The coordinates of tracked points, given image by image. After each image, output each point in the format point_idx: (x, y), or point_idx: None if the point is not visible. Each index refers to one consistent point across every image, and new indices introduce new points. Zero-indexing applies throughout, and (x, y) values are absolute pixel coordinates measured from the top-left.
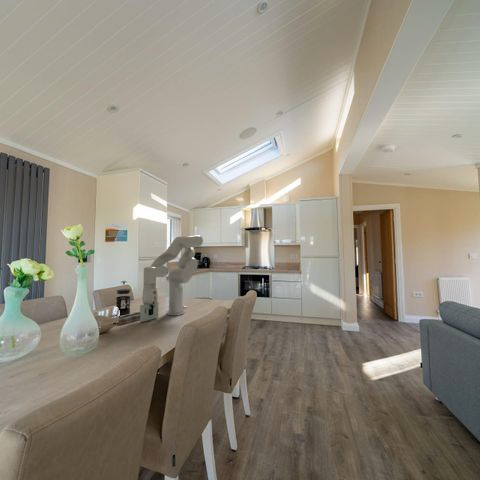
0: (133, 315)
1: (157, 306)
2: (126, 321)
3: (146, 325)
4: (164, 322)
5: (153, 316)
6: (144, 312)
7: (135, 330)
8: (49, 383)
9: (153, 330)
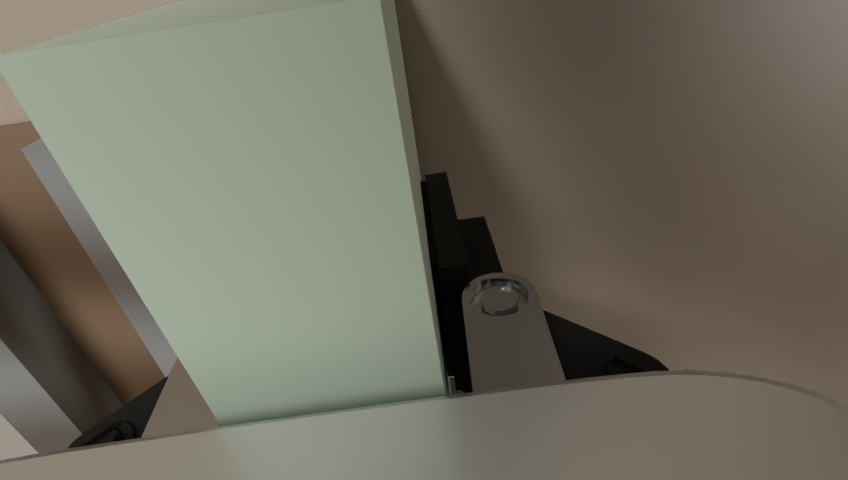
0: (46, 339)
1: (394, 41)
2: None
3: (606, 322)
4: (764, 51)
5: (412, 125)
6: None
7: None
8: None
9: (842, 347)
